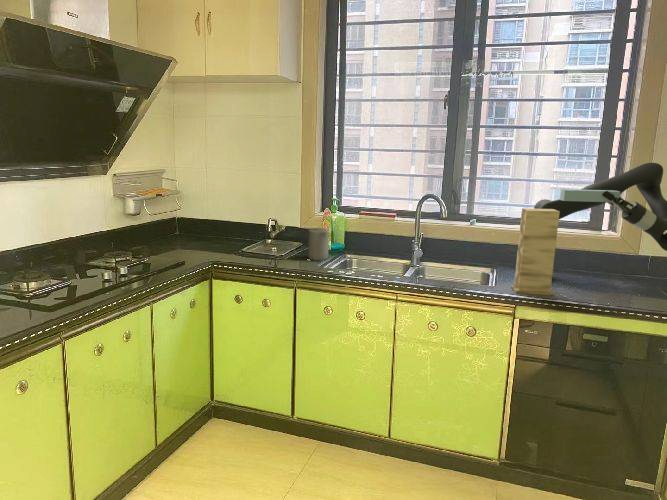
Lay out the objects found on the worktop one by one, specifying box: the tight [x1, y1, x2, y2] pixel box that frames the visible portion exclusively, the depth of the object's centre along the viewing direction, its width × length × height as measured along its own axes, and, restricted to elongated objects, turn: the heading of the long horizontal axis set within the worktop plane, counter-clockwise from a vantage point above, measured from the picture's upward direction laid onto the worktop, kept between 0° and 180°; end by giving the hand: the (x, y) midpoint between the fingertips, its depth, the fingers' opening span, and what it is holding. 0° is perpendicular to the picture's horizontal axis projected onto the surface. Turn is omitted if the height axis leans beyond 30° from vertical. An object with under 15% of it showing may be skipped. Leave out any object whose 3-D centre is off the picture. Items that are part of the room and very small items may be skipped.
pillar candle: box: [307, 227, 330, 261], centre depth 251 cm, size 10×10×15 cm
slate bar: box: [559, 188, 621, 202], centre depth 196 cm, size 4×20×4 cm, turn 87°
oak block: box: [510, 207, 560, 296], centre depth 202 cm, size 8×14×32 cm, turn 87°
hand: (601, 192), depth 196 cm, fingers closed on slate bar, 4 cm apart
